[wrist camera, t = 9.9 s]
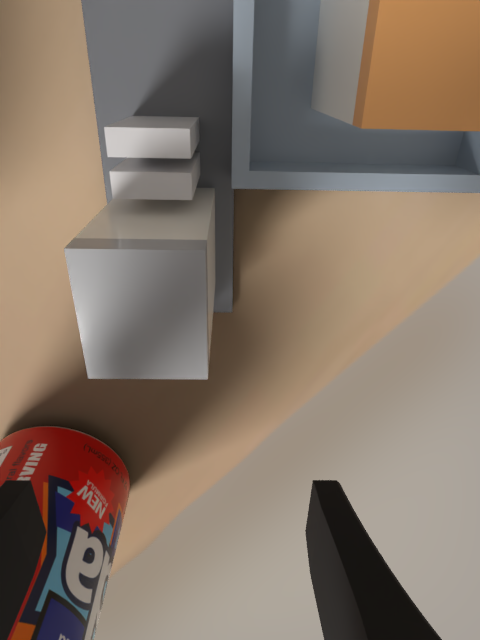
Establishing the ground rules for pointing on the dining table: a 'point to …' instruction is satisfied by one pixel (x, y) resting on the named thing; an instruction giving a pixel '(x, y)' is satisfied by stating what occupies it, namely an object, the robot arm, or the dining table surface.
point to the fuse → (146, 288)
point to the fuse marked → (399, 64)
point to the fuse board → (166, 106)
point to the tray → (322, 120)
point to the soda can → (68, 527)
